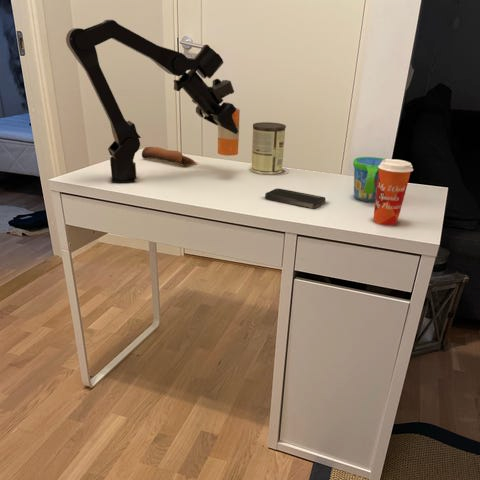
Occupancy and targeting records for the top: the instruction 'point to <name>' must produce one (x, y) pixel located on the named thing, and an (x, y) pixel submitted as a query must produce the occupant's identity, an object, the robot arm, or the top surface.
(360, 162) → the snack cup
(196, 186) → the top surface
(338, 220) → the top surface
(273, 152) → the coffee can
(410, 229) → the top surface
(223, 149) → the juice can
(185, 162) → the brown elongated rounded bar
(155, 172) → the top surface
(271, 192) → the phone
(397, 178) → the paper cup
